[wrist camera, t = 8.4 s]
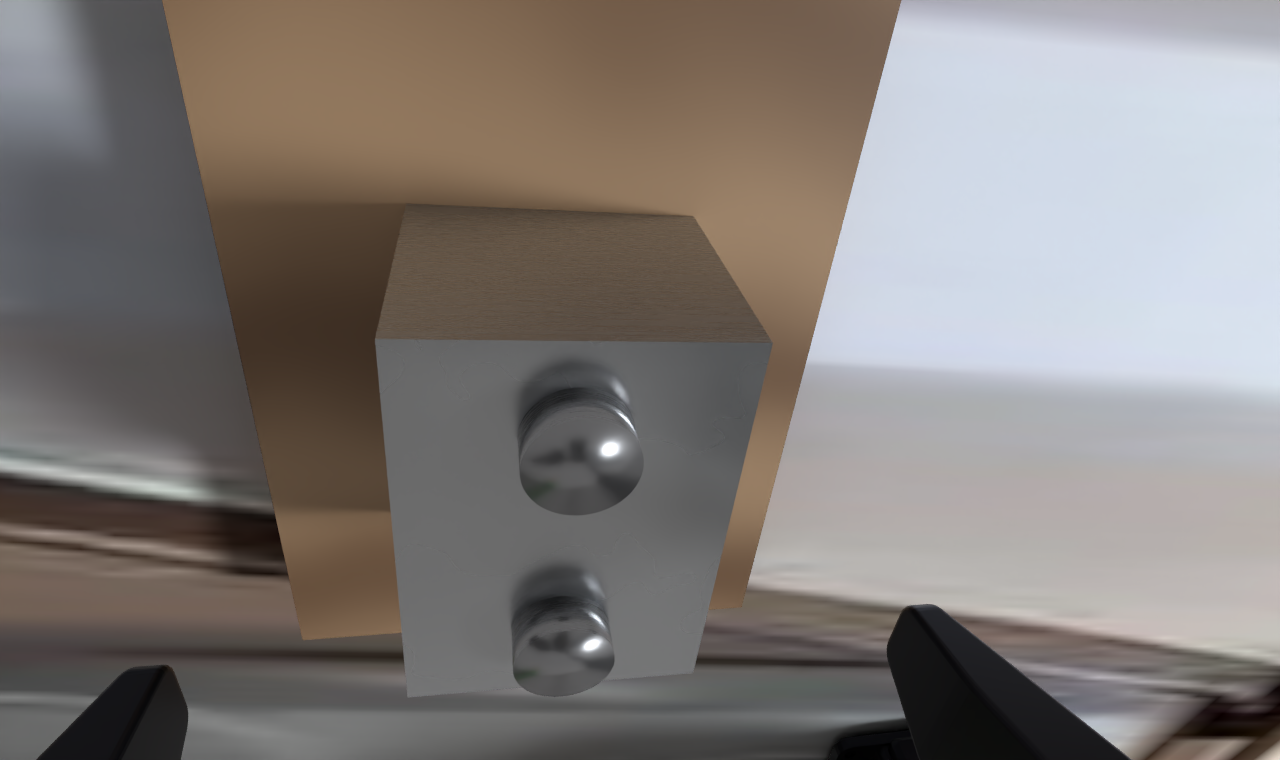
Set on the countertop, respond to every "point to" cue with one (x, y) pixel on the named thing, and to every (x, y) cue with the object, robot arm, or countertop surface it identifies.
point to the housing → (560, 442)
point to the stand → (500, 203)
